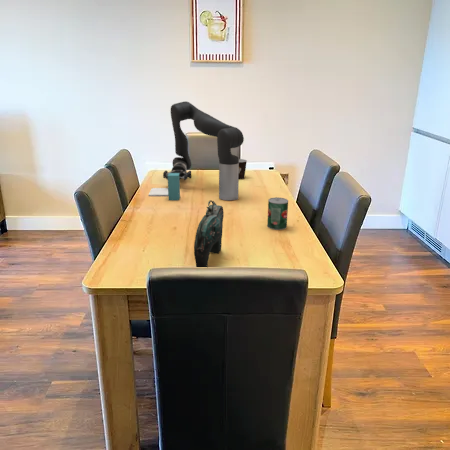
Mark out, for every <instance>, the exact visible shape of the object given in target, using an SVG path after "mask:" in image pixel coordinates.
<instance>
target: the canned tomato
mask: <svg viewBox="0 0 450 450" xmlns="http://www.w3.org/2000/svg"><path fill="white" fill-rule="evenodd" d="M288 210H289V200H288V199H287V198H284V197H277V196H276V197H270V198H268V202H267V220H266V221H267V222H266V223H267V225H266V227H267V228H268V229H270V230H276V231H280V230H281V231H282V230H283V231H284V230H286V229H287V228H288V215H289V214H288V212H289V211H288Z"/></svg>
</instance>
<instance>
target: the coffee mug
mask: <svg viewBox="0 0 450 450" xmlns="http://www.w3.org/2000/svg"><path fill="white" fill-rule="evenodd" d="M247 162H248V161H247V160H246V159H244V158H243V159H242V158H239V172H238V180H243V179H245V176H246V170H247V168H246V167H247Z"/></svg>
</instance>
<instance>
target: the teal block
mask: <svg viewBox="0 0 450 450" xmlns="http://www.w3.org/2000/svg"><path fill="white" fill-rule="evenodd" d="M180 180H181V179H180V178H179V173H169V174H168V180H167V188H168V196H167V197H168V201H180V198H181V191H180V189H181V186H180V185H181V184H180Z"/></svg>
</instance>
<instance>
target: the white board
mask: <svg viewBox="0 0 450 450" xmlns="http://www.w3.org/2000/svg"><path fill="white" fill-rule="evenodd" d="M148 197H168V187H151V189H150V191H149V193H148Z"/></svg>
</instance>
